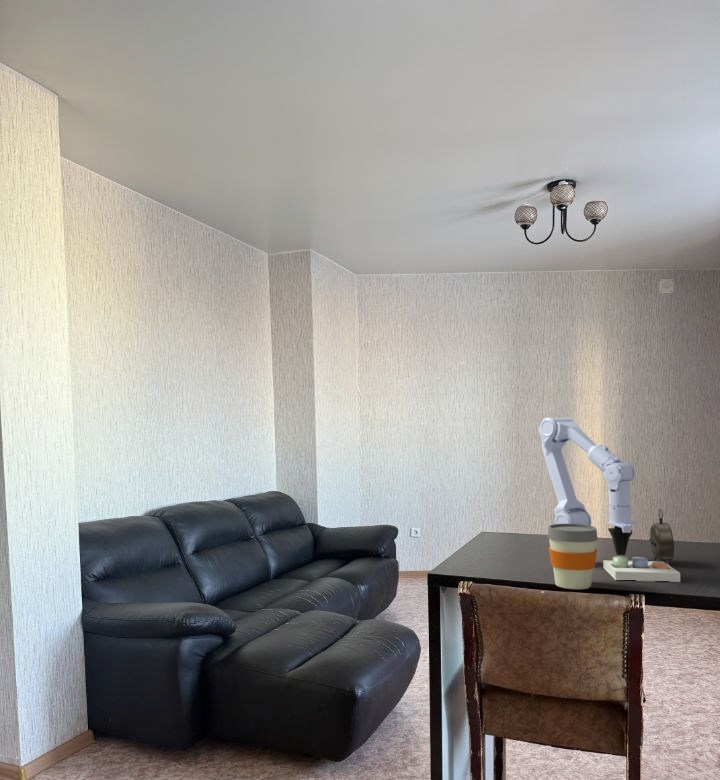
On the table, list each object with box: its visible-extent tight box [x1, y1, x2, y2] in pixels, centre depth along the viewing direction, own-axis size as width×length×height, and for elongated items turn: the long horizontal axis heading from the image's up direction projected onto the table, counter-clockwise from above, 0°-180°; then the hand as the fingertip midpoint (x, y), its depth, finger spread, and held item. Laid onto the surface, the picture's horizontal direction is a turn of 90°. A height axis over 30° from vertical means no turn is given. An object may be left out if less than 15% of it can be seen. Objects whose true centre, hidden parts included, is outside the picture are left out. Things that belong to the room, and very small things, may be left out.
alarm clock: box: [648, 508, 675, 567], centre depth 204 cm, size 11×5×16 cm, turn 168°
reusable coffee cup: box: [547, 523, 598, 590], centre depth 179 cm, size 13×12×15 cm
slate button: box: [631, 556, 649, 568], centre depth 189 cm, size 4×4×3 cm
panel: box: [602, 559, 681, 583], centre depth 189 cm, size 17×14×2 cm
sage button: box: [612, 555, 629, 568], centre depth 190 cm, size 4×4×3 cm
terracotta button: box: [652, 561, 668, 569], centre depth 189 cm, size 4×4×3 cm
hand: (620, 554), depth 190 cm, fingers closed
